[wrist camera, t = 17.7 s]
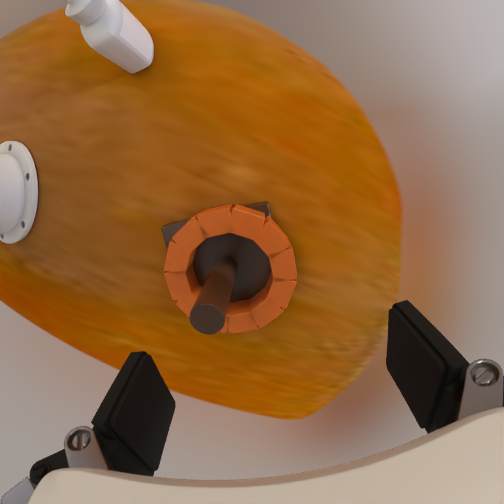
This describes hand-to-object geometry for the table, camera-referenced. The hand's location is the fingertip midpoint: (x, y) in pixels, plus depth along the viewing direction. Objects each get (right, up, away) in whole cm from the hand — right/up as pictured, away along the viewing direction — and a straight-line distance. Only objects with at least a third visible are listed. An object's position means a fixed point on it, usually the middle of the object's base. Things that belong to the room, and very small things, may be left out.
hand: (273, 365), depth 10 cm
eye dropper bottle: (-12, +23, +9) cm, 28 cm away
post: (-3, +3, +15) cm, 15 cm away
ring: (-2, +3, +13) cm, 14 cm away
